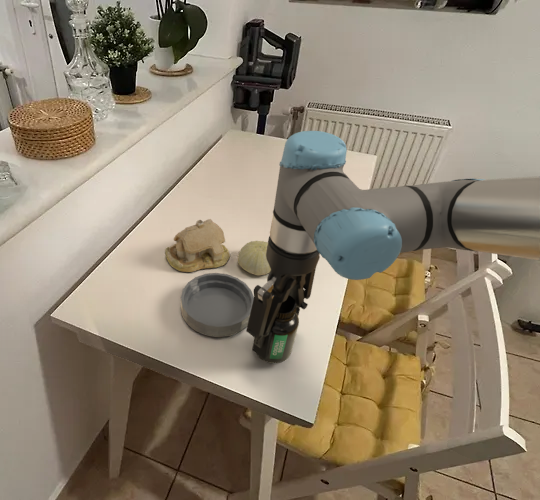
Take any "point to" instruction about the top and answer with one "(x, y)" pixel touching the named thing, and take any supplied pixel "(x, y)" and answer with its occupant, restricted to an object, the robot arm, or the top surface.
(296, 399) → the top surface
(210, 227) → the ceramic model
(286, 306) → the supplement bottle
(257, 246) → the sea urchin shell
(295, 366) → the top surface
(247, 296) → the dish
